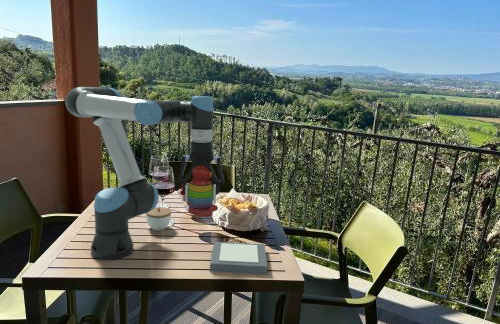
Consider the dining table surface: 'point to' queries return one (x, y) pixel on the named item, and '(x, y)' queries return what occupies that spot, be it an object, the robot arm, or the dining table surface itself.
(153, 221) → the lidded jar
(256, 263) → the slate plinth
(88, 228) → the dining table surface
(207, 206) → the stacking bear
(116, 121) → the robot arm
